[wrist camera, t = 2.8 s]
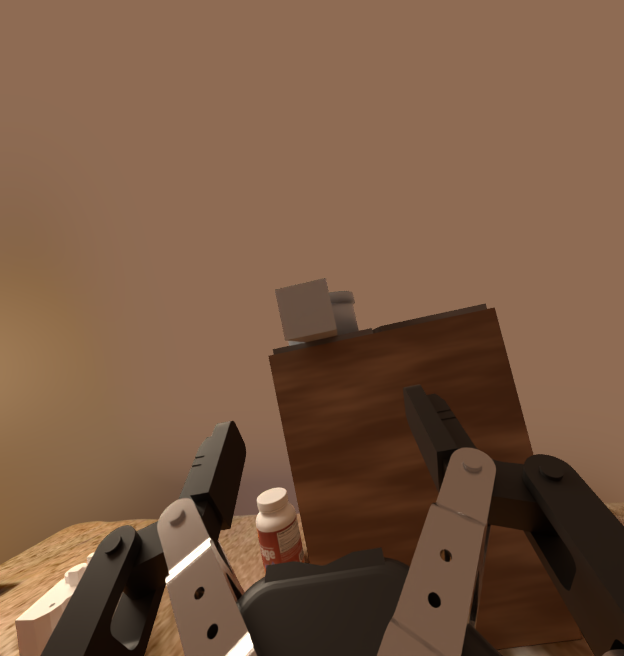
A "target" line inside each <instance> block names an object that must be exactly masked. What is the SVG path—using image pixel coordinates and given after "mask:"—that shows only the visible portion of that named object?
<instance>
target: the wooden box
mask: <svg viewBox="0 0 624 656" xmlns="http://www.w3.org/2000/svg"><path fill="white" fill-rule="evenodd" d="M273 353H274V355H271V356H269V361H270V366H271V371H272V376H273V381H274V386H275V391H276V396H277V401H278V406H279V411H280V416H281V421H282V426H283V431H284V436H285V441H286V446H287V451H288V456H289V461H290V466H291V471H292V476H293V481H294V486H295V491H296V496H297V502H298V507H299V511H300V517H301V522H302V527H303V532H304V537H305V542H306V547H307V552H308V557H309V562H310V564H315V565H322V566H323V565H327V564H329V563H331V562H333V561H335V560H337V559H339V558H341V557H343V556H345V555H347V554H349V553H351V552H355V551H361V550H368V549H374V548H380V547H382V551H383V556H384V557H387V558H392V559H395V560H398V561H400V562H403V563H405V564H407V565H408V566H410V565H411V562H412V559H413V556H414V553H415V550H416V547H417V544H418V541H419V538H420V535H421V532H422V529H423V526H424V523H425V520H426V517H427V514H428V511H429V509H430V506H431V505H432V503H436V501H437V498H438V495H439V493H438V491H437V488H436V486H435V484H434V481H433V479H432V477H431V475H430V472H429V470H428V468H427V466H426V463H425V461H424V459H423V456H422V454H421V452H420V450H419V447H418V445H417V443H416V441H415V438H414V436H413V434H412V432H411V429H410V427H409V424H408V421H407V418H406V413H405V404H404V395H403V387H408V386H413V385H418V384H420V385H421V386H422V388H423V390H424V392H425V393H426V395H429V394H434V393H435V394H437V395H438V396H440V397H441V398H442V399H444V400H445V401H446V403H447V404H448V406H449V407H450V409H451V411H452V412H453V413H454V415H455V416H456V419H458V421H459V422H460V424H461V425H462V427H463V428H464V430H465V431H466V433H467V434H468V436H469V437H470V439H471V440H472V442H473V443H474V445H475V446H476V448H477V449H478V450H480V451H482V452H484V453H486V454H487V455H488V456H489V457H490V458H491V459H494V460H497V461H501V462H509V463H518V464H524V462H525V460H526V459H527V458H528V457H530V456H532V455H533V451H532V448H531V444H530V440H529V436H528V432H527V429H526V425H525V421H524V417H523V414H522V410H521V406H520V402H519V398H518V394H517V391H516V387H515V383H514V379H513V375H512V372H511V368H510V364H509V360H508V356H507V353H506V349H505V345H504V341H503V338H502V334H501V330H500V326H499V322H498V319H497V315H496V311H495V308H490V309H487V308H486V304H481V305H477V306H472V307H468V308H463V309H459V310H454V311H449V312H445V313H440V314H436V315H430V316H426V317H421V318H416V319H412V320H407V321H403V322H398V323H393V324H389V325H384V326H380V327H378V328H376V329H374V330H372V329H371V328H370V329H366V330H361V331H356V332H352V333H347V334H342V335H338V336H333V337H328V338H324V339H319V340H314V341H310V342H305V343H300V344H296V345H291V346H287V347H282V348H278V349H273ZM475 629H476V630H477V631H478V632H479V633H480V634H481V635H482V636H483V637H484V638H485V639H486V640H487V641H488V642H489V643H490V644H491V645H492V646H493V647H494V648H495V649H496V650H497V649H505V648H512V647H520V646H528V645H536V644H544V643H552V642H560V641H568V640H576V639H582V637H581V633H580V629H579V627H578V625H577V624H576V622H575V620H574V618H573V617H572V615H571V613H570V611H569V610H568V608H567V606H566V604H565V603H564V601H563V599H562V598H561V596H560V594H559V592H558V591H557V589H556V587H555V585H554V584H553V582H552V580H551V578H550V577H549V575H548V573H547V571H546V570H545V568H544V566H543V564H542V563H541V561H540V559H539V557H538V556H537V554H536V552H535V550H534V549H533V547H532V545H531V543H530V542H529V540H528V538H527V536H526V535H525V533H524V531H523V530H518V529H512V528H506V527H501V526H495V525H492V526H491V532H490V538H489V544H488V550H487V556H486V562H485V568H484V574H483V582H482V590H481V597H480V604H479V610H478V616H477V622H476V628H475Z"/></svg>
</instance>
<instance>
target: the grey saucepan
mask: <svg viewBox="0 0 624 656" xmlns="http://www.w3.org/2000/svg"><path fill="white" fill-rule="evenodd" d="M275 293H276V297H277V302H278V307H279V312H280V317H281V321H282V327H283V332H284V337H285V340H286V341H288V342H289V346H291V345H296V344H300V343H305V342H310V341H314V340H319V339H324V338H328V337H333V336H338V335H342V334H347V333H352V332H356V331H359V330H358V326H357V321H356V317H355V313H354V309H353V304H354V303H355V302H354V297H353V293H352V292H349V291H339V292H330V293H329V292H328V287H327V282H326V279H325V278H324V279H319V280H315V281H311V282H306V283H302V284H298V285H294V286H289V287H285V288H280V289H276V290H275Z"/></svg>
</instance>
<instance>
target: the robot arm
mask: <svg viewBox="0 0 624 656" xmlns="http://www.w3.org/2000/svg"><path fill="white" fill-rule="evenodd" d="M403 395H404V404H405V413H406V418H407V421H408V424H409V427H410V429H411V432H412V434H413V436H414V438H415V441H416V443H417V445H418V447H419V450H420V452H421V454H422V456H423V459H424V461H425V463H426V466H427V468H428V470H429V472H430V475H431V477H432V479H433V481H434V484H435V486H436V488H437V491H438V493H439V495H438V498H437V501H436V503H432V505H431V506H430V509H429V511H428V514H427V517H426V520H425V523H424V526H423V529H422V532H421V535H420V538H419V541H418V544H417V547H416V550H415V553H414V556H413V559H412V562H411V565H410V566H408V565H407V564H405V563H403V562H400V561H398V560H395V559H392V558H387V557H384V556H383V551H382V547H380V548H374V549H368V550H361V551H355V552H351V553H349V554H347V555H345V556H343V557H341V558H339V559H337V560H335V561H333V562H331V563H329V564H327V565H323V566H322V565H315V564H309V563H302V562H296V561H292V562H285V563H279V564H273V565H266V574H265V577H263V578H262V579H260V580H259V581H257V582H256V583H255V584H253V585H252V586H251V587H250V588H249V589H248V590H247V591H246V592H244V590H243V589H242V587H241V585H240V583H239V581H238V579H237V577H236V575H235V573H234V571H233V569H232V567H231V565H230V563H229V560H228V558H227V556H226V554H225V552H224V550H223V548H222V546H221V543H220V542H219V540H218V538H219V534H220V530H225V529H230V528H231V523H232V519H233V514H234V509H235V505H236V500H237V495H238V491H239V486H240V481H241V477H242V472H243V467H244V462H245V457H246V447H245V443H244V441H243V439H242V437H241V435H240V433H239V430H238V428H237V426H236V424H235V422H234V421H229V422H224V423H219V424H217V425H216V426H215V429H214V431H213V434H212V436H211V437H207V438H206V439H205V441H204V442H203V443H202V444H201V446H200V447H199V449H198V452H197V454H196V457H195V458H196V459H195V460H194V462H193V464H192V468H191V470H190V472H189V475H188V477H187V479H186V482H185V485H184V487H183V489H182V492H181V495H180V497H179V499H178V500H177V501H175V502H173V503H172V504H171V505H169V506H168V507H167V508H166V509H165V510H164V512H163V513H162V515H161V516H160V518H159V521H157V522H155V523H153V524H151V525H149V526H147V527H145V528H143V529H141V530H139V531H137V532H136V530H135V529H134V528H133V527H132V526H129V525H126V526H122V527H119V528H117V529H115V530H114V531H112V532H111V533H110V534H109V535H107V536H106V537H105V538H104V539H103V541H102V542H101V543H100V544H99V546H98V547H97V549H96V551H95V553H94V555H93V556H92V558H91V560H90V562H89V564H88V566H87V568H86V570H85V572H84V574H83V575H82V577H81V579H80V581H79V583H78V585H77V587H76V589H75V591H74V593H73V594H72V596H71V598H70V600H69V602H68V604H67V606H66V608H65V610H64V612H63V613H62V615H61V617H60V619H59V621H58V623H57V625H56V627H55V629H54V631H53V632H52V634H51V636H50V638H49V640H48V642H47V644H46V646H45V648H44V650H43V651H42V653H41V655H40V656H144V654H145V651H146V648H147V645H148V641H149V638H150V635H151V631H152V628H153V625H154V621H155V618H156V615H157V611H158V608H159V605H160V602H161V598H162V595H163V592H164V588H165V585H167V589H168V592H169V596H170V600H171V604H172V608H173V612H174V616H175V620H176V624H177V628H178V631H179V635H180V639H181V643H182V647H183V651H184V655H185V656H502V655H501V654H500V653H499V652H498V651H497V650H496V649H495V648H494V647H493V646H492V645H491V644H490V643H489V642H488V641H487V640H486V639H485V638H484V637H483V636H482V635H481V634H480V633H479V632H478V631H477V630H476V629H475V628H476V622H477V616H478V610H479V604H480V597H481V590H482V582H483V574H484V568H485V562H486V556H487V550H488V544H489V538H490V532H491V526H492V525H495V526H501V527H506V528H512V529H518V530H523V531H524V533H525V535H526V536H527V538H528V540H529V542H530V543H531V545H532V547H533V549H534V550H535V552H536V554H537V556H538V557H539V559H540V561H541V563H542V564H543V566H544V568H545V570H546V571H547V573H548V575H549V577H550V578H551V580H552V582H553V584H554V585H555V587H556V589H557V591H558V592H559V594H560V596H561V598H562V599H563V601H564V603H565V604H566V606H567V608H568V610H569V611H570V613H571V615H572V617H573V618H574V620H575V622H576V624H577V625H578V627H579V629H580V631H581V632H582V634H583V636H584V638H585V639H586V641H587V643H588V645H589V646H590V648H591V650H592V652H593V653H594V655H595V656H624V526H623V525H622V524H621V523H620V522H619V520H618V519H617V518H616V517H615V516H614V515H613V514H612V512H611V511H610V510H609V509H608V508H607V507H606V505H605V504H604V503H603V502H602V501H601V500H600V499H599V498H598V496H597V495H596V494H595V493H594V492H593V491H592V490H591V488H590V487H589V486H588V485H587V484H586V483H585V481H584V480H583V479H582V478H581V477H580V476H579V475H578V473H577V472H576V471H575V470H574V469H573V468H572V467H571V466H570V465H568V464H567V463H566V462H564V461H562V460H560V459H558V458H556V457H553V456H549V455H543V454H538V455H532V456H530V457H528V458H527V459H526V460H525V462H524V464H518V463H509V462H501V461H497V460H494V459H491V458H490V457H489V456H488V455H487V454H486V453H484V452H482V451H480V450H478V449H477V448H476V446H475V445H474V443H473V442H472V440H471V439H470V437H469V436H468V434H467V433H466V431H465V430H464V428H463V427H462V425H461V424H460V422H459V421H458V419H456V416H455V415H454V413H453V412H452V411H451V409H450V407H449V406H448V404H447V403H446V401H445V400H444V399H442V398H441V397H440V396H438V395H437V394H435V393H434V394H429V395H426V393H425V392H424V390H423V388H422V386H421V385H420V384H418V385H413V386H408V387H403ZM122 592H123V593H122ZM120 597H121V598H120ZM118 602H119V603H118ZM116 607H117V608H116ZM115 609H116V610H115ZM114 612H115V613H114ZM113 614H114V615H113ZM112 617H113V618H112Z"/></svg>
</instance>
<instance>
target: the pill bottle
mask: <svg viewBox="0 0 624 656" xmlns="http://www.w3.org/2000/svg"><path fill="white" fill-rule="evenodd" d="M257 505H258V509H259V511H260V512H259V513H258V515H257V518H256V527H257V532H258V538H259V543H260V549H261V554H262V560H263V565H264V571H265V574H266V565H273V564H279V563H285V562H292V561H296V562H302V563H305V558H304V553H303V547H302V542H301V537H300V532H299V527H298V522H297V517H296V512H295V509H294V507H293V506H292V504H290V503H288V496H287V491H286V490H285V489H284V488H273V489H270V490H267V491H265V492H264V493H262V494H261V495H259V497H258V498H257Z"/></svg>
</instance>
